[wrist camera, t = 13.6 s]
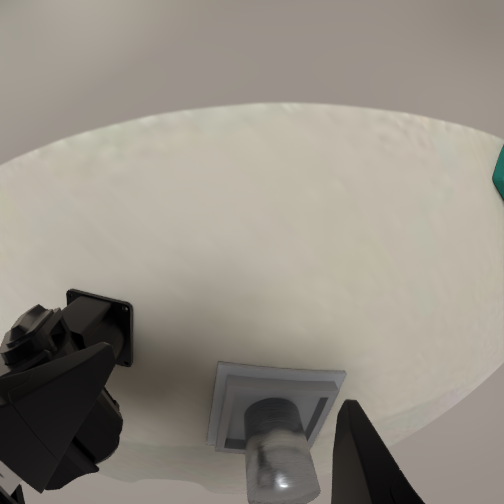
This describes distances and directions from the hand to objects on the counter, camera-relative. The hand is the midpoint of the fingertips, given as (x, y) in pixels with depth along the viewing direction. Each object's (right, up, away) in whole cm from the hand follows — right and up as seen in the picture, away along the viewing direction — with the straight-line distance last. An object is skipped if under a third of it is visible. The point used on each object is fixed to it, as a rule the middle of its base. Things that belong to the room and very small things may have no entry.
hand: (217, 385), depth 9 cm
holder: (+3, -11, +16) cm, 20 cm away
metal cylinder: (+3, -12, +15) cm, 19 cm away
